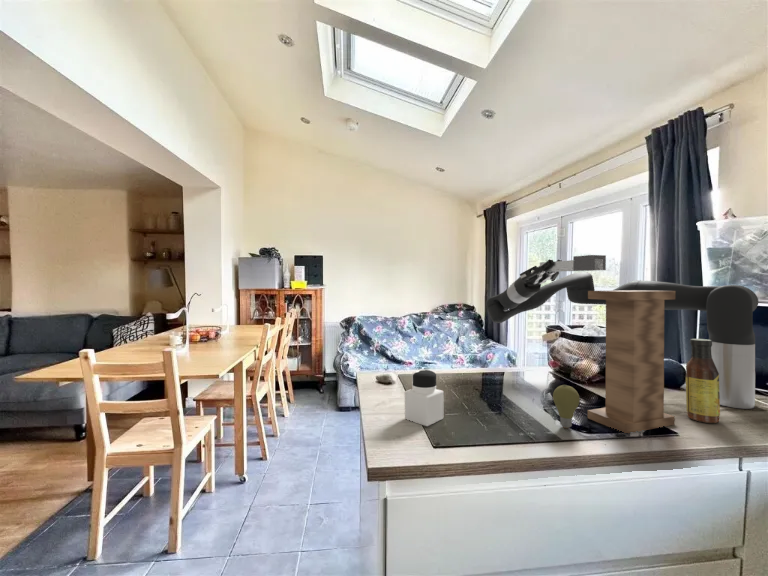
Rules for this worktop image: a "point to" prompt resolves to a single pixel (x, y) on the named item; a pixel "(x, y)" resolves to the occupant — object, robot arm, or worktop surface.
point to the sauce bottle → (702, 384)
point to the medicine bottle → (424, 399)
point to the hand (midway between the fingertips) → (556, 261)
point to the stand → (634, 360)
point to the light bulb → (566, 403)
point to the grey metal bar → (580, 264)
